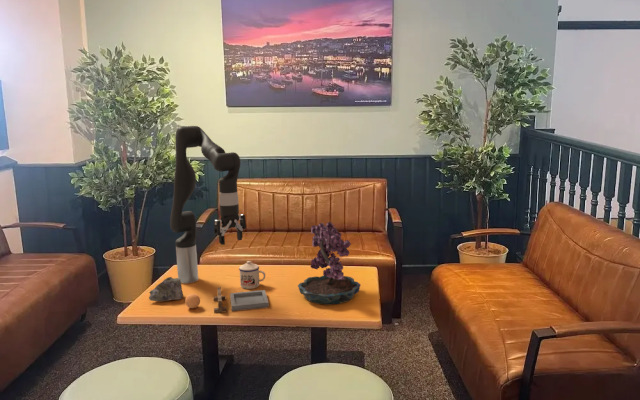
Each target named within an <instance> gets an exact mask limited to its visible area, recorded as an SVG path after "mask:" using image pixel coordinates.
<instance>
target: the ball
mask: <svg viewBox="0 0 640 400" xmlns="http://www.w3.org/2000/svg"><path fill="white" fill-rule="evenodd" d="M184 303H185V305H186V306H187V308H189V309H196V308H198V306H199V305H200V303H201V297H200V296H199V295H198V294H196V293H189V294H188V295H187V296H186V297H185V301H184Z"/></svg>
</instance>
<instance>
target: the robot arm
mask: <svg viewBox="0 0 640 400" xmlns="http://www.w3.org/2000/svg"><path fill="white" fill-rule="evenodd" d="M198 147H200V149H201V150H200V151H201V154H202V155H203V156H204V158H205V159H207V160H208V161H210V162H211V165H212V166H213V169H214V170H215V171H217V172H227V174H226V175H225V176H222V177H220V178H219V179H218V188H219V189H218V190H219V196H218V199H219V200H218V201H219V202H218V203H219V214H220V219H213V220H214V221H213V234H214V235H217V236H218V243H219V244H220V245H221V246H224V245H225V244H226V240H225V234H226V232H227V231H228V230H229V229H232V228H233V229H234V228H235V229H236V239H237V241H242V239H243V230H245V229H247V223H246V220H247V219H246V215H245V214H243V213H240V208H239V207H240V205H239V202H240V201H239V194H238V178H239V172H240V168H241V158H240V156H239V154H238V153H236V152H233V151H232V152H226V151H225V149H224V148H222V147H221V146H220V145H219V144H217V143H215V142H214V141H213V140H212V139H211V138H210V137H209V135H208V134H207V133H206V132H205V131H204V129H202V128H201V127H200V126H198V125H188V126H186V125H185V126H184V125H183V126H179V127H177V128H176V131H175V168H174V169H175V170H174V180H173V199H172V205H171V212H170V217H169V218H170V219H169V224H170V229H171V231H172V232H173V233H177V234H178V233H183V234H182V235H181V236H180V237H179V238H177V239H176V240H175V255H176V267H177V278H180V281H181V284H191V283H195V282H198V281H199V265H198V254H197V219H196V215H195V214H194V212H193V211H191V210H187V211H183V209H184V207H185V205H186V203H187V202H188V201H189V199H190V197H191V196H192V194H193V192H194V191H195V189H196V188H195V187H196V181H197V180H196V179H197V176H196V172H195V170H194V168H193V166H192V164H190V162H189V159H188V156H187V149H190V148H198Z"/></svg>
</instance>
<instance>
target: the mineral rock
mask: <svg viewBox="0 0 640 400" xmlns="http://www.w3.org/2000/svg"><path fill="white" fill-rule="evenodd" d="M183 298H184V293H183V288H182V283H181V281H180V278H178V277H172V276H170V277H169V276H168V277H166V278H165V279H163V280H162V281H161V282H160V283H159V284H157V285H156V286H155V288H153V289H151V290H150V291H149V297H148V299H149V300H150V301H152V302H167V301H172V300H173V301H174V300H181V299H183Z"/></svg>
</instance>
